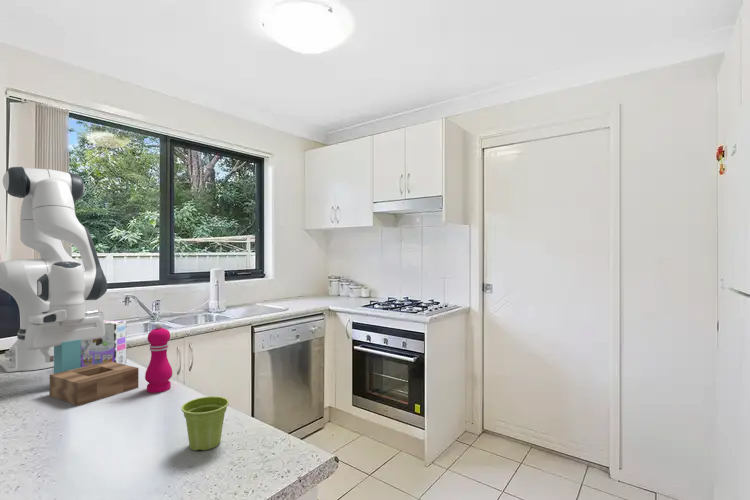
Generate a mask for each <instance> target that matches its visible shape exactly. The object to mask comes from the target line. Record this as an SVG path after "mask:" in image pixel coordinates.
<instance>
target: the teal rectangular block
mask: <svg viewBox="0 0 750 500" xmlns="http://www.w3.org/2000/svg"><path fill="white" fill-rule="evenodd" d="M77 368H81V339H79V340H73V341H68V342H62V344H61V345H60V346H54V366H53V374H55V373H60V372H64V371H68V370H73V369H77Z"/></svg>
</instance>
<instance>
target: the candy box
mask: <svg viewBox="0 0 750 500" xmlns="http://www.w3.org/2000/svg"><path fill="white" fill-rule="evenodd" d="M104 326H105V335H104V337H103V338H99V339H93V344H92V345H91V347H90V349H89V354H87V355H81V367H86V366H90V365H94V364H99V363H103V362H107V361H111V362H115V363H120V364H124V365H127V320H104ZM86 344H87V343H85V341H82V342H81V349H84V347H85V345H86Z"/></svg>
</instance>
